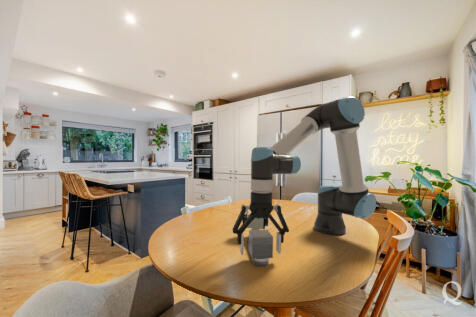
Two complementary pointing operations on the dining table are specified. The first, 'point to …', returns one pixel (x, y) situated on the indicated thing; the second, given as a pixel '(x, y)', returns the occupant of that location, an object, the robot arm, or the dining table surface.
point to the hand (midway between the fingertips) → (260, 252)
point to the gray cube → (260, 244)
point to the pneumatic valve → (256, 222)
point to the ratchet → (260, 260)
